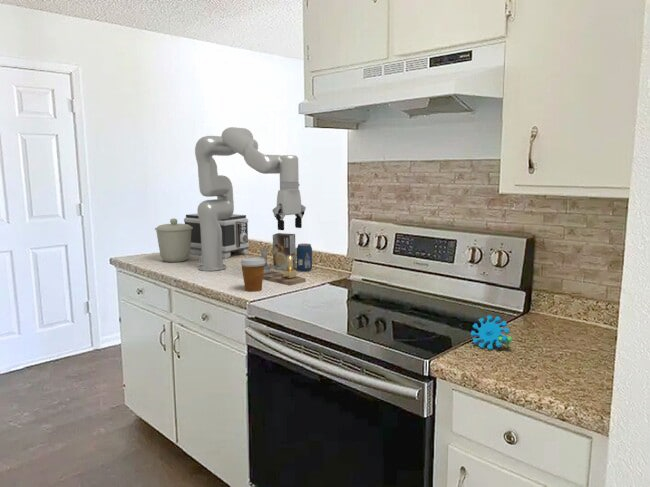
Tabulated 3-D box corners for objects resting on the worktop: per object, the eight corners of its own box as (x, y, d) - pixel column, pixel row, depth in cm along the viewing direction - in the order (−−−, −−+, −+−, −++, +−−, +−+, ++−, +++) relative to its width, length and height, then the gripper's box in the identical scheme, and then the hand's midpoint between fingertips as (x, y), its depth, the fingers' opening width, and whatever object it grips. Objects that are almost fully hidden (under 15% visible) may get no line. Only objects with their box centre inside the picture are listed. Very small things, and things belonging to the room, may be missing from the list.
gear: (463, 338, 138) (482, 309, 140) (469, 348, 141) (487, 320, 144) (500, 355, 130) (519, 323, 133) (505, 365, 134) (524, 334, 136)
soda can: (302, 268, 237) (302, 242, 235) (314, 270, 233) (314, 244, 231) (293, 271, 231) (293, 244, 229) (306, 272, 227) (306, 246, 225)
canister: (148, 262, 250) (146, 219, 247) (172, 256, 267) (170, 216, 264) (178, 265, 243) (176, 221, 240) (201, 258, 260) (200, 217, 257)
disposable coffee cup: (251, 294, 190) (251, 262, 188) (235, 289, 196) (235, 259, 194) (271, 289, 197) (270, 258, 195) (255, 285, 203) (254, 255, 201)
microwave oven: (231, 260, 257) (230, 218, 253) (184, 253, 275) (182, 214, 272) (255, 254, 272) (254, 215, 269) (209, 248, 290) (208, 212, 287)
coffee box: (296, 267, 238) (296, 233, 235) (290, 270, 232) (290, 235, 229) (278, 266, 241) (278, 232, 239) (272, 269, 235) (272, 234, 233)
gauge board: (251, 276, 219) (250, 248, 218) (266, 273, 226) (266, 246, 224) (289, 285, 203) (289, 255, 202) (305, 281, 210) (305, 252, 208)
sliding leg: (279, 277, 208) (278, 256, 207) (290, 275, 213) (290, 254, 211) (285, 279, 206) (284, 257, 204) (296, 276, 210) (296, 255, 209)
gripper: (298, 185, 213) (298, 226, 216) (266, 186, 201) (267, 230, 203) (311, 186, 208) (311, 227, 211) (279, 187, 196) (280, 231, 198)
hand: (289, 228), depth 207 cm, fingers open, 9 cm apart
